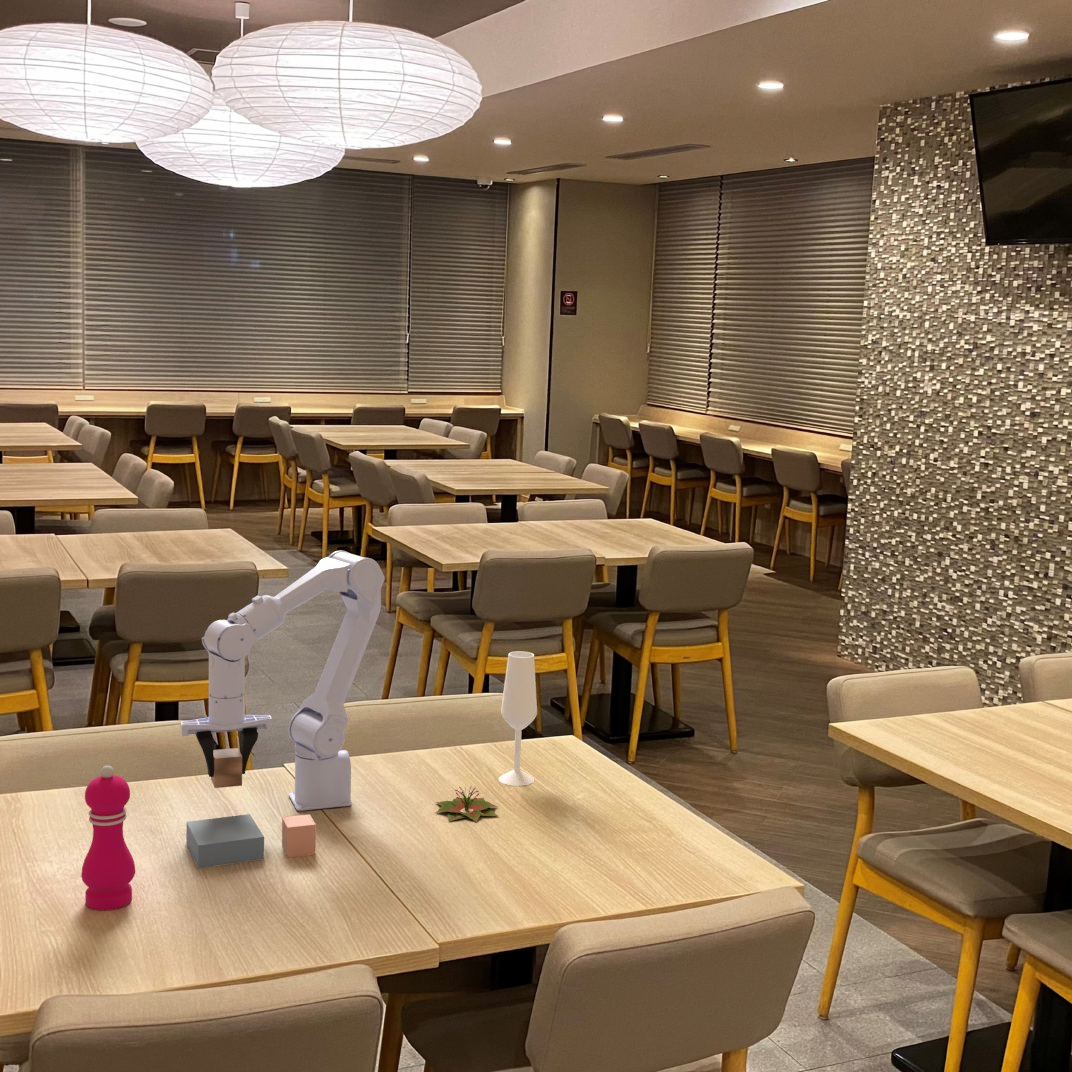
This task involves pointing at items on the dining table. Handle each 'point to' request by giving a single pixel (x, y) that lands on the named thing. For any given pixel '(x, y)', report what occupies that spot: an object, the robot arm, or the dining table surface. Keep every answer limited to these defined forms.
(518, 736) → the champagne flute
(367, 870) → the dining table surface
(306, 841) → the terracotta block
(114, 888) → the pepper mill
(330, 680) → the robot arm
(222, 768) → the walnut block
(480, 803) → the lily flower
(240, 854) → the base block
